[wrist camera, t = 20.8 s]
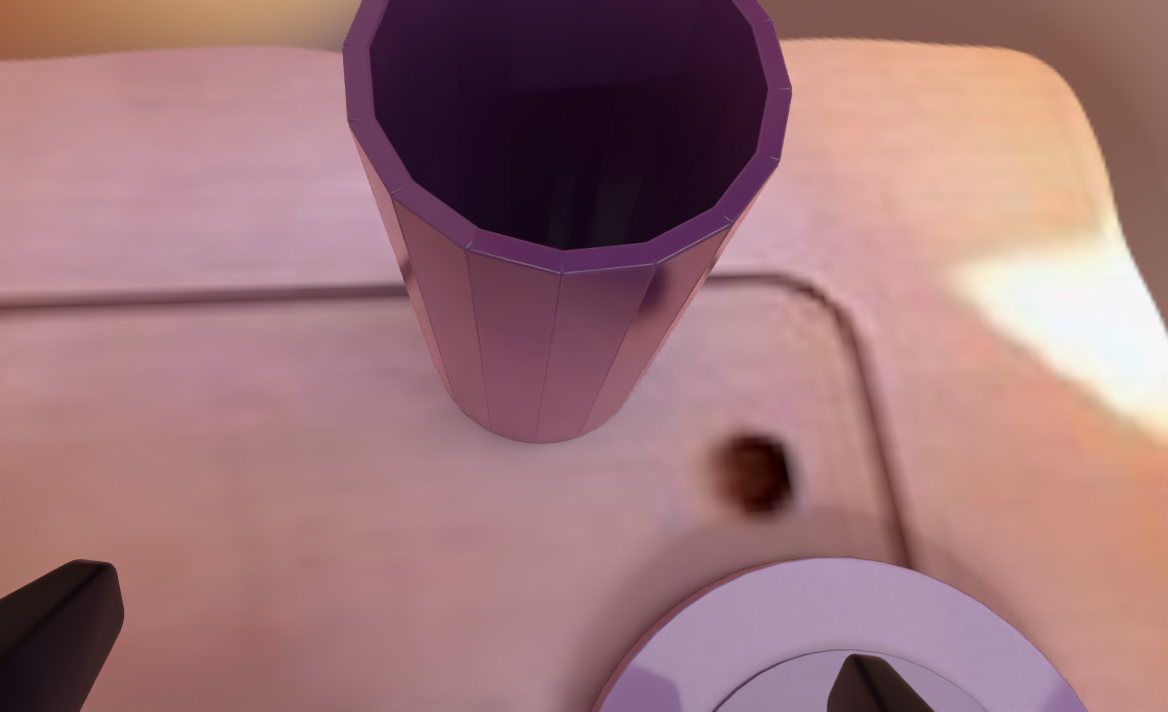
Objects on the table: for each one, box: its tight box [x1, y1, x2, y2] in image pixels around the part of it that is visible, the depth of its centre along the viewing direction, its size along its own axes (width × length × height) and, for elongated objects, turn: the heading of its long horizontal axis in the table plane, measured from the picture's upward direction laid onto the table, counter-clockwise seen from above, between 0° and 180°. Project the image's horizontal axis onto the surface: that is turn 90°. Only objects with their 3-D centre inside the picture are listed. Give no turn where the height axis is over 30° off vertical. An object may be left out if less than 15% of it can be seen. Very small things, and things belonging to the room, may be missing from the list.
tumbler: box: [342, 0, 792, 443], centre depth 17 cm, size 7×7×13 cm
